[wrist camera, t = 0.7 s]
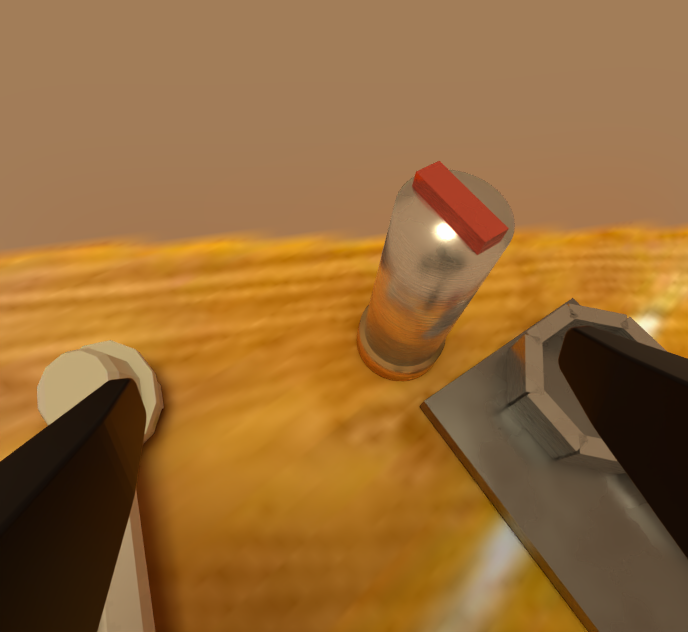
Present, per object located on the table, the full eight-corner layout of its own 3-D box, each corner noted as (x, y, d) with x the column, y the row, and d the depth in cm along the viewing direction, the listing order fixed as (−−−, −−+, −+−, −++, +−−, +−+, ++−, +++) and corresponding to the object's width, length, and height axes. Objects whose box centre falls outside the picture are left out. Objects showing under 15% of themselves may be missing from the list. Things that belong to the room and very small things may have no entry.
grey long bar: (5, 1206, 11) (-7, 331, 19) (110, 939, 17) (69, 365, 25) (207, 1094, 12) (118, 306, 20) (237, 880, 18) (161, 345, 26)
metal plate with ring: (850, 594, 22) (956, 605, 19) (713, 798, 18) (815, 865, 15) (563, 306, 30) (599, 273, 26) (419, 406, 26) (437, 385, 22)
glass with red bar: (454, 353, 28) (561, 218, 16) (389, 397, 26) (454, 282, 14) (404, 293, 29) (466, 132, 18) (340, 330, 28) (362, 180, 16)
